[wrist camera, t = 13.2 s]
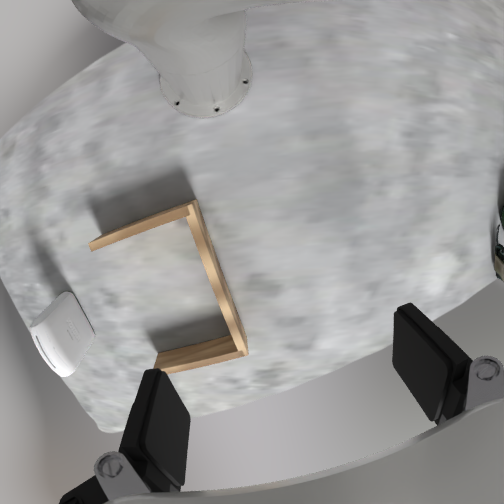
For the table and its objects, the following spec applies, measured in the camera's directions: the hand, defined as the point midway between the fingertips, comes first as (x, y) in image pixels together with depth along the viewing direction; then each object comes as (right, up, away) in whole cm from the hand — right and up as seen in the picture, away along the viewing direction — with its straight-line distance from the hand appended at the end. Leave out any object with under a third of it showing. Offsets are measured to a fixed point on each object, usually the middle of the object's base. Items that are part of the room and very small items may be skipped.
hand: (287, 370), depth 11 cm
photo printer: (-32, -7, +34) cm, 47 cm away
